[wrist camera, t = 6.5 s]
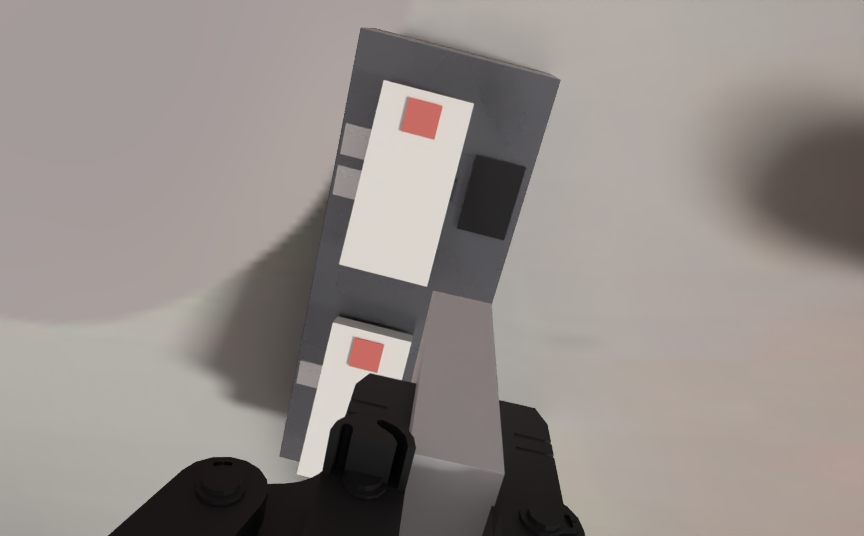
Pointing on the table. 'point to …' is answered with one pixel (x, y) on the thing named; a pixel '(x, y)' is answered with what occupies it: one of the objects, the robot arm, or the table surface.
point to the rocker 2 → (348, 379)
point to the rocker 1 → (406, 183)
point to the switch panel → (467, 209)
